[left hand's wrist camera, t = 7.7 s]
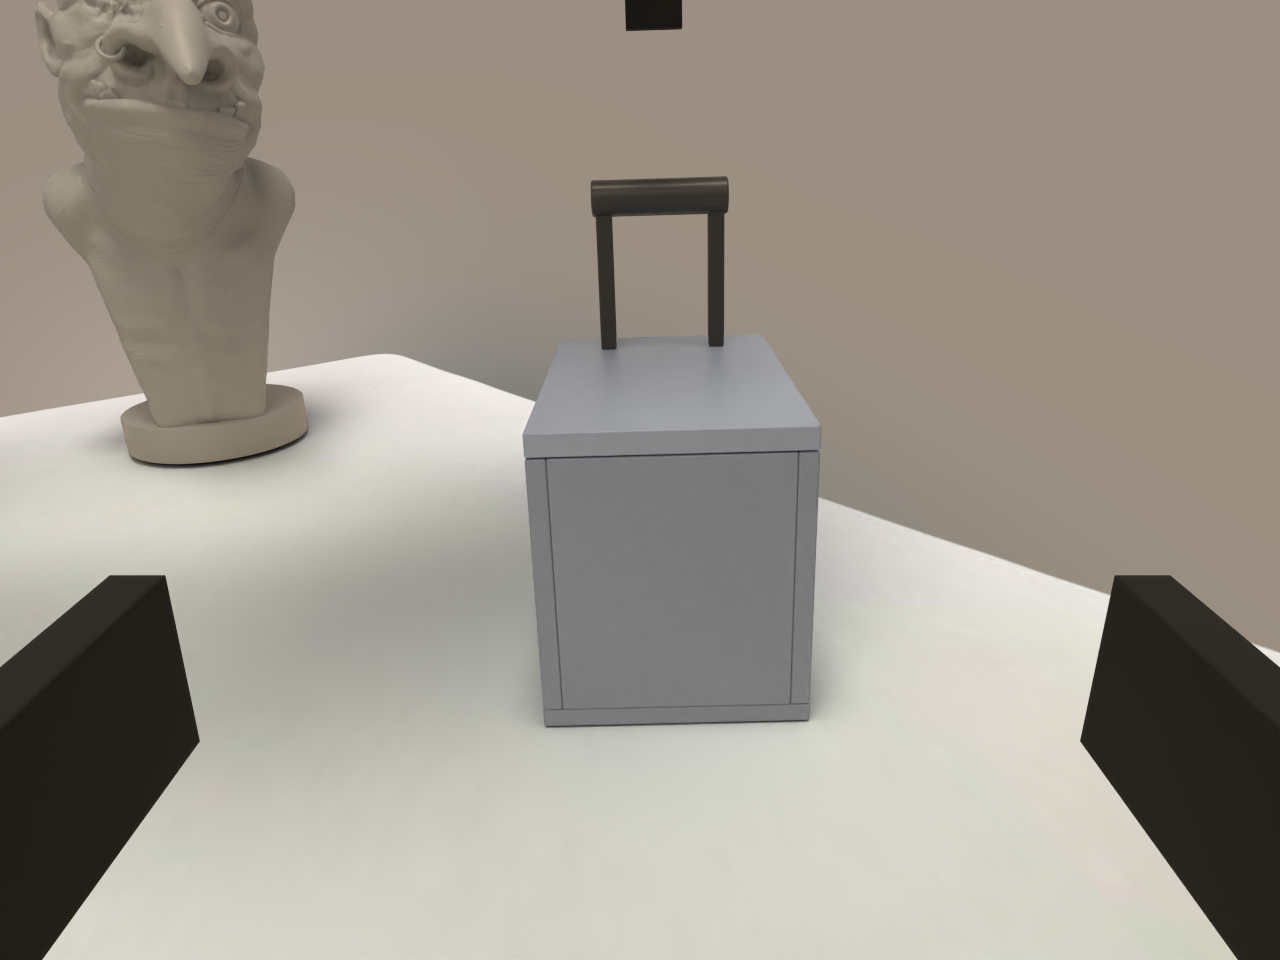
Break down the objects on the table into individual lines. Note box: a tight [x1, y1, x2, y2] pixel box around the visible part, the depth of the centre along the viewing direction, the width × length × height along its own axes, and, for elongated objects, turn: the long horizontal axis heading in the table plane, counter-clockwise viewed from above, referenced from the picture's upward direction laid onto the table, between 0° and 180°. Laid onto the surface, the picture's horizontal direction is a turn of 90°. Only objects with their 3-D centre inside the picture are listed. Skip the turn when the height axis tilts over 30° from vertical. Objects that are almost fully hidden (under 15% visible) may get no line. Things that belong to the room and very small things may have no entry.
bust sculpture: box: [35, 0, 308, 464], centre depth 59 cm, size 16×24×35 cm, turn 22°
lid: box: [523, 176, 821, 458], centre depth 36 cm, size 16×10×8 cm, turn 0°
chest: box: [525, 450, 820, 726], centre depth 40 cm, size 15×10×11 cm, turn 0°
